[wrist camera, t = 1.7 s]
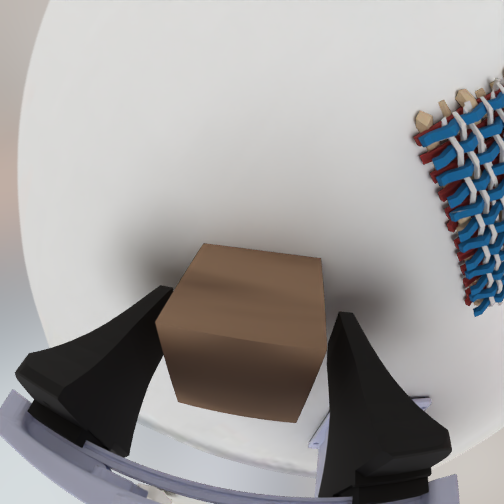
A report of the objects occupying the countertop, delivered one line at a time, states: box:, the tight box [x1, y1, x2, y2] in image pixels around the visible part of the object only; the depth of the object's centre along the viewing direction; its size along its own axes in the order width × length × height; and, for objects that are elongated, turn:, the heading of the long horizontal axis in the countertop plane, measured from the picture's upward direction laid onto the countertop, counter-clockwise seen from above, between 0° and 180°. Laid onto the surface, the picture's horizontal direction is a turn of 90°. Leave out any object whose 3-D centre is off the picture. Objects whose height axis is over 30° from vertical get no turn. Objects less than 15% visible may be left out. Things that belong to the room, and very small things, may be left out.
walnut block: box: [155, 243, 327, 423], centre depth 11 cm, size 5×5×5 cm
